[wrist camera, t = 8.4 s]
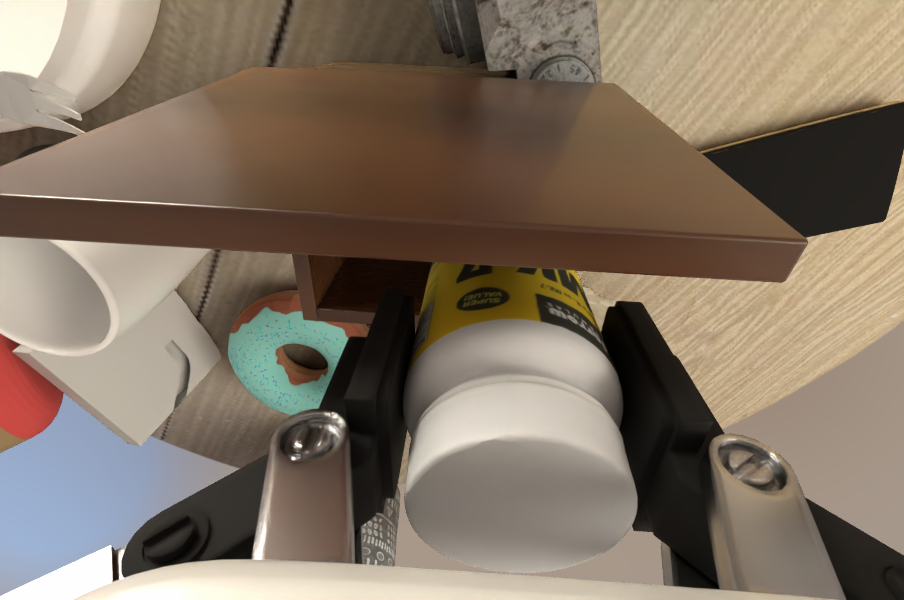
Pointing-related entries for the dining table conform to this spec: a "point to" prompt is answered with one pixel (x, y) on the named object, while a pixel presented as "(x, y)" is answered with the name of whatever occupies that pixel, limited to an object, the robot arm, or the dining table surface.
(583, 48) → the camera
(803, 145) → the smartphone
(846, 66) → the dining table surface
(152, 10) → the plate
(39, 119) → the fork
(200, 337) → the grey square panel
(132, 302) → the white tumbler cup
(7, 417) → the decorative object
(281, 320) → the donut
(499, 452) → the supplement bottle
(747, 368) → the dining table surface
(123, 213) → the lid
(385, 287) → the chest
